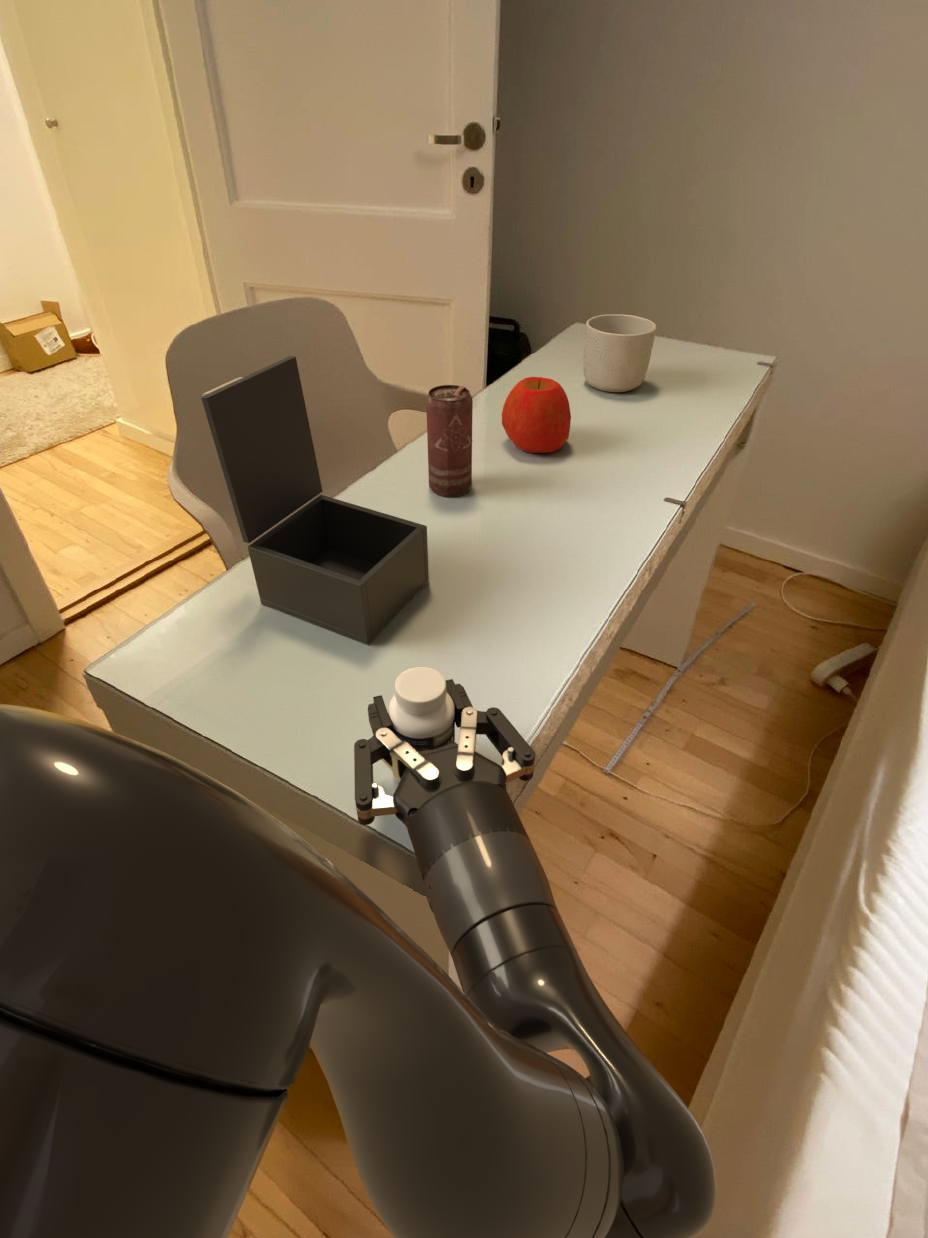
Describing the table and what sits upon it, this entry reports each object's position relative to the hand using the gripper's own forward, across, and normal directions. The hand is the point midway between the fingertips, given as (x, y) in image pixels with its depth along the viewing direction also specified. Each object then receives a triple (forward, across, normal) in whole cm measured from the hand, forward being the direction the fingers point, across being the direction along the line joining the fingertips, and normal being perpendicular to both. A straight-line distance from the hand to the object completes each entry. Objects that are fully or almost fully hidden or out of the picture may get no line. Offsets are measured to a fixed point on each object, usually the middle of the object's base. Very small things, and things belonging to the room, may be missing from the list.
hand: (413, 695), depth 57 cm
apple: (+53, -34, +6) cm, 64 cm away
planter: (+72, -58, +6) cm, 93 cm away
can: (+44, -18, +6) cm, 48 cm away
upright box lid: (+30, +7, -9) cm, 32 cm away
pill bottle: (-3, 0, +6) cm, 7 cm away
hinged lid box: (+24, +2, +6) cm, 25 cm away
